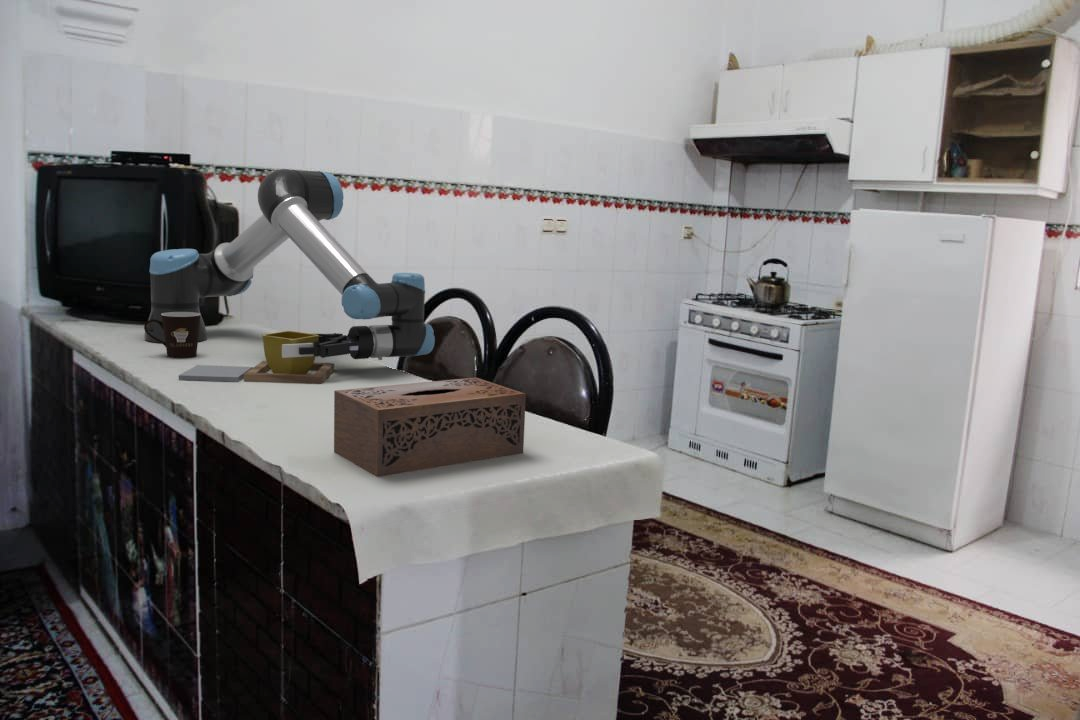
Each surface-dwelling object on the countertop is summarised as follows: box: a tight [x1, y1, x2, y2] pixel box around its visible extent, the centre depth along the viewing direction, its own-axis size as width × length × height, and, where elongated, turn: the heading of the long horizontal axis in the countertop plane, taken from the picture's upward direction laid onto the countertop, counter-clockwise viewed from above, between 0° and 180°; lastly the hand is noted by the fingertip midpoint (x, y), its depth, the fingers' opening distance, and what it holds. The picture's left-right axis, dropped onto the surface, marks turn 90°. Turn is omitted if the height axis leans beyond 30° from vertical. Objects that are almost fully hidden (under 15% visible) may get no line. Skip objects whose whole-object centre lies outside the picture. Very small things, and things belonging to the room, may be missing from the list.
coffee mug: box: [143, 312, 202, 359], centre depth 210 cm, size 12×9×10 cm
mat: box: [178, 364, 254, 383], centre depth 190 cm, size 12×12×1 cm
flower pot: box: [261, 330, 319, 374], centre depth 193 cm, size 9×9×9 cm
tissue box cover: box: [333, 377, 527, 478], centre depth 139 cm, size 26×14×10 cm, turn 127°
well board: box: [243, 360, 335, 385], centre depth 194 cm, size 16×16×2 cm
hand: (273, 346), depth 191 cm, fingers closed on flower pot, 11 cm apart
